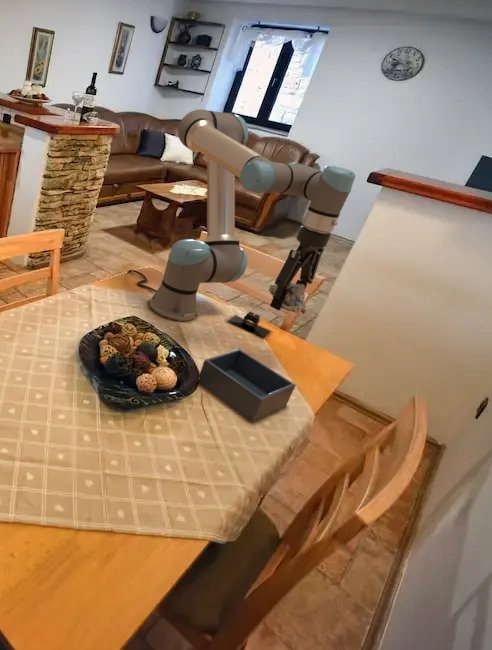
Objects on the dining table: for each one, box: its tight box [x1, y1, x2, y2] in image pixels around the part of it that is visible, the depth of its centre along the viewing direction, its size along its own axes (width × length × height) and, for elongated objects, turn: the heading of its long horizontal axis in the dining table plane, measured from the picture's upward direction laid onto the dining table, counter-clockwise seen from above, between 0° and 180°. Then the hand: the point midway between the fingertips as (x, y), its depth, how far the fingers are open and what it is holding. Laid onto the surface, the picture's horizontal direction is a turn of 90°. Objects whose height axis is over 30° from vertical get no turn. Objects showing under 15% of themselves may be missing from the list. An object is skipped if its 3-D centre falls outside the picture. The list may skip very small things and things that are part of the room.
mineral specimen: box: [268, 282, 307, 315], centre depth 139 cm, size 10×8×10 cm
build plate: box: [227, 311, 271, 339], centre depth 164 cm, size 12×7×5 cm, turn 51°
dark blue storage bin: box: [198, 348, 296, 423], centre depth 128 cm, size 18×15×7 cm
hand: (284, 305), depth 140 cm, fingers closed on mineral specimen, 9 cm apart
